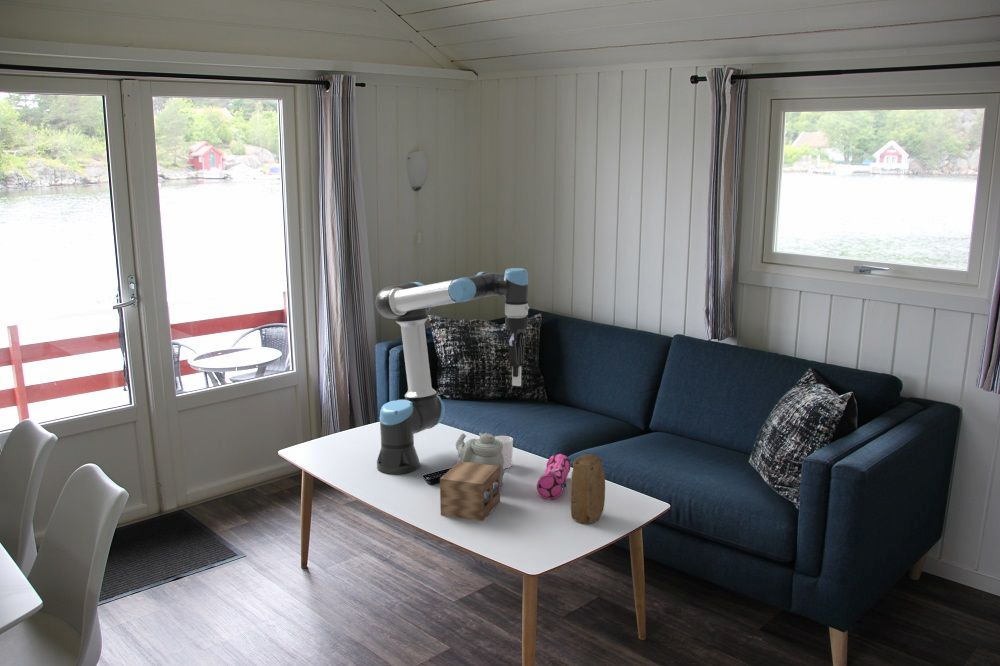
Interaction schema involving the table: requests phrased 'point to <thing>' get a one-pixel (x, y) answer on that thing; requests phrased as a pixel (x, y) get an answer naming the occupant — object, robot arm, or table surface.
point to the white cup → (506, 449)
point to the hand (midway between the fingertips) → (516, 385)
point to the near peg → (486, 497)
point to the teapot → (482, 451)
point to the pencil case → (554, 477)
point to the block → (587, 489)
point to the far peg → (495, 488)
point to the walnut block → (469, 490)
